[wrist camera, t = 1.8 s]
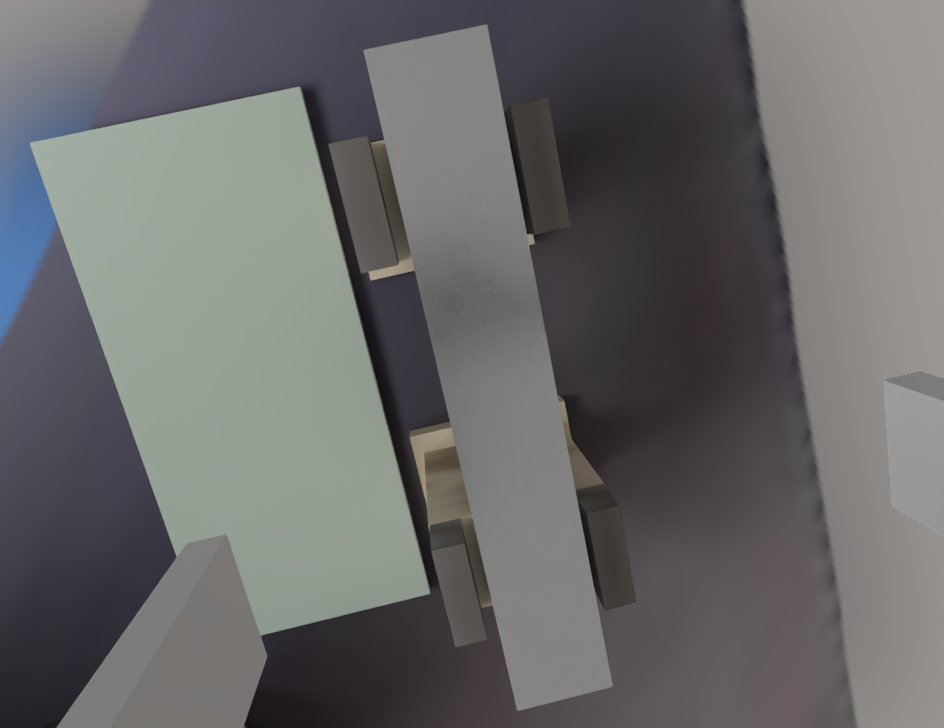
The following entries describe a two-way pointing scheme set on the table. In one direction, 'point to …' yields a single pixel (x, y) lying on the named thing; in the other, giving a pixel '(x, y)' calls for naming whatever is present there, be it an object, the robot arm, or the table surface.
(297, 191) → the mat
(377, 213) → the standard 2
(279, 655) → the table surface
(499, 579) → the rail
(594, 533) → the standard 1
